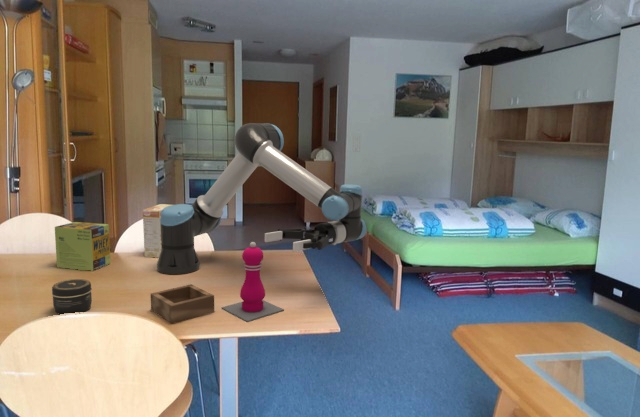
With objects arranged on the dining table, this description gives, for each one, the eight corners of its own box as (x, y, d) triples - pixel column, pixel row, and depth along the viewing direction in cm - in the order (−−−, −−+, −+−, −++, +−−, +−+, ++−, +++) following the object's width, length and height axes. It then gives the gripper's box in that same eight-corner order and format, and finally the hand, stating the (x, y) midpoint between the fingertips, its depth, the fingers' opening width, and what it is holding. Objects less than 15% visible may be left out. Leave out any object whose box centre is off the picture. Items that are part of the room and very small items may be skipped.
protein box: (93, 271, 174) (91, 229, 172) (56, 268, 177) (53, 226, 175) (111, 263, 184) (109, 223, 182) (76, 260, 187) (73, 221, 185)
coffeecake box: (161, 248, 209) (159, 203, 206) (176, 249, 208) (175, 204, 205) (143, 257, 194) (141, 209, 191) (160, 258, 193) (158, 210, 190)
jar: (65, 302, 144) (64, 278, 142) (99, 303, 143) (97, 279, 142) (45, 315, 134) (44, 289, 132) (81, 316, 133) (79, 290, 132)
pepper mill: (269, 305, 144) (269, 240, 141) (258, 314, 137) (258, 245, 134) (247, 302, 146) (247, 238, 143) (235, 310, 139) (235, 243, 136)
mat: (221, 308, 142) (221, 307, 142) (257, 298, 151) (257, 297, 151) (247, 322, 133) (247, 320, 133) (283, 310, 142) (284, 309, 141)
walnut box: (151, 310, 139) (150, 293, 139) (191, 299, 148) (191, 284, 148) (172, 323, 130) (171, 306, 129) (214, 312, 139) (214, 295, 138)
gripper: (356, 252, 152) (306, 264, 138) (303, 237, 170) (254, 245, 155) (357, 229, 151) (307, 238, 136) (304, 216, 168) (254, 222, 154)
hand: (278, 242), depth 146 cm, fingers open, 13 cm apart
